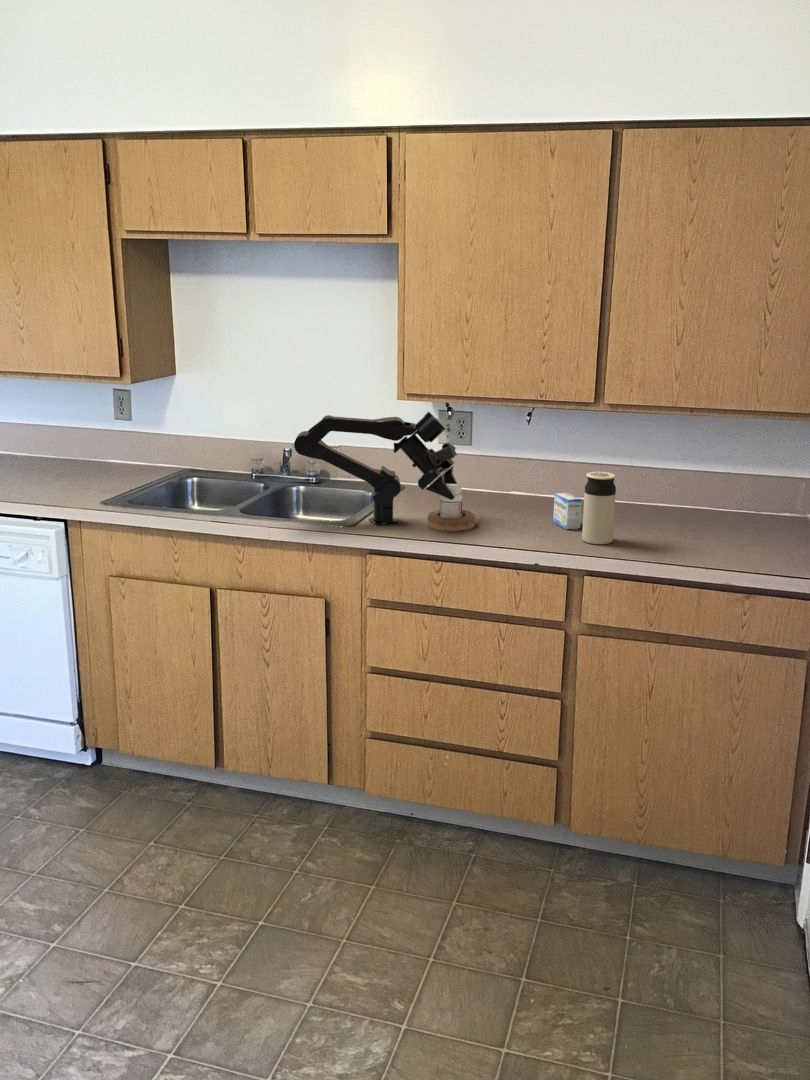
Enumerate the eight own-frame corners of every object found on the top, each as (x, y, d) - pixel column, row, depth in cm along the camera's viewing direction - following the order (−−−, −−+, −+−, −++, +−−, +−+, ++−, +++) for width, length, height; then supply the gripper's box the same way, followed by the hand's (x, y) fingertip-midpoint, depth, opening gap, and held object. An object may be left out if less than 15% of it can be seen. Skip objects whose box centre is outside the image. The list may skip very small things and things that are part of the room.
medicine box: (552, 523, 283) (553, 493, 281) (566, 522, 285) (567, 492, 283) (566, 530, 276) (568, 499, 274) (580, 529, 278) (582, 498, 275)
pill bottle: (449, 521, 285) (450, 482, 282) (466, 525, 281) (467, 485, 278) (435, 525, 281) (435, 485, 278) (452, 529, 277) (453, 489, 274)
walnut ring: (420, 521, 284) (420, 511, 283) (460, 517, 289) (461, 507, 289) (441, 533, 273) (441, 522, 272) (483, 528, 278) (483, 517, 277)
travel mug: (590, 546, 262) (594, 478, 257) (576, 538, 269) (580, 472, 264) (617, 543, 264) (622, 476, 259) (603, 535, 271) (607, 470, 266)
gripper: (430, 440, 267) (469, 484, 267) (447, 429, 284) (484, 470, 284) (401, 467, 271) (440, 510, 271) (420, 455, 288) (457, 495, 288)
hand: (456, 495), depth 278 cm, fingers open, 7 cm apart
